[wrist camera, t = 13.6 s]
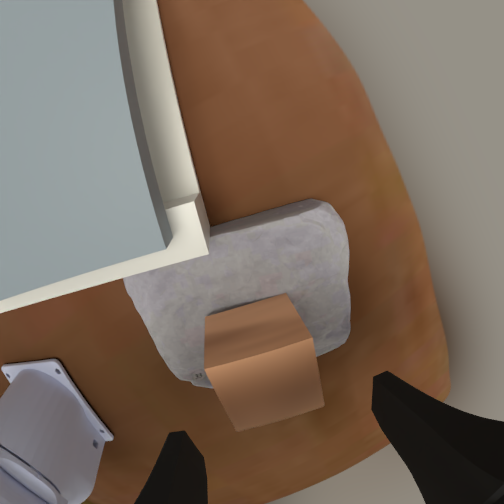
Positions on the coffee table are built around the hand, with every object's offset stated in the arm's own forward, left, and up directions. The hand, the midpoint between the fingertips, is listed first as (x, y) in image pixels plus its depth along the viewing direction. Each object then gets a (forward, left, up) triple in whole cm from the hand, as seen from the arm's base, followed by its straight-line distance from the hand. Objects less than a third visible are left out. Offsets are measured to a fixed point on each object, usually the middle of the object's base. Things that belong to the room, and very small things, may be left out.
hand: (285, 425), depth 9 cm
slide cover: (+15, +7, -3) cm, 17 cm away
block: (+1, 0, -5) cm, 5 cm away
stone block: (+1, 0, -10) cm, 10 cm away
